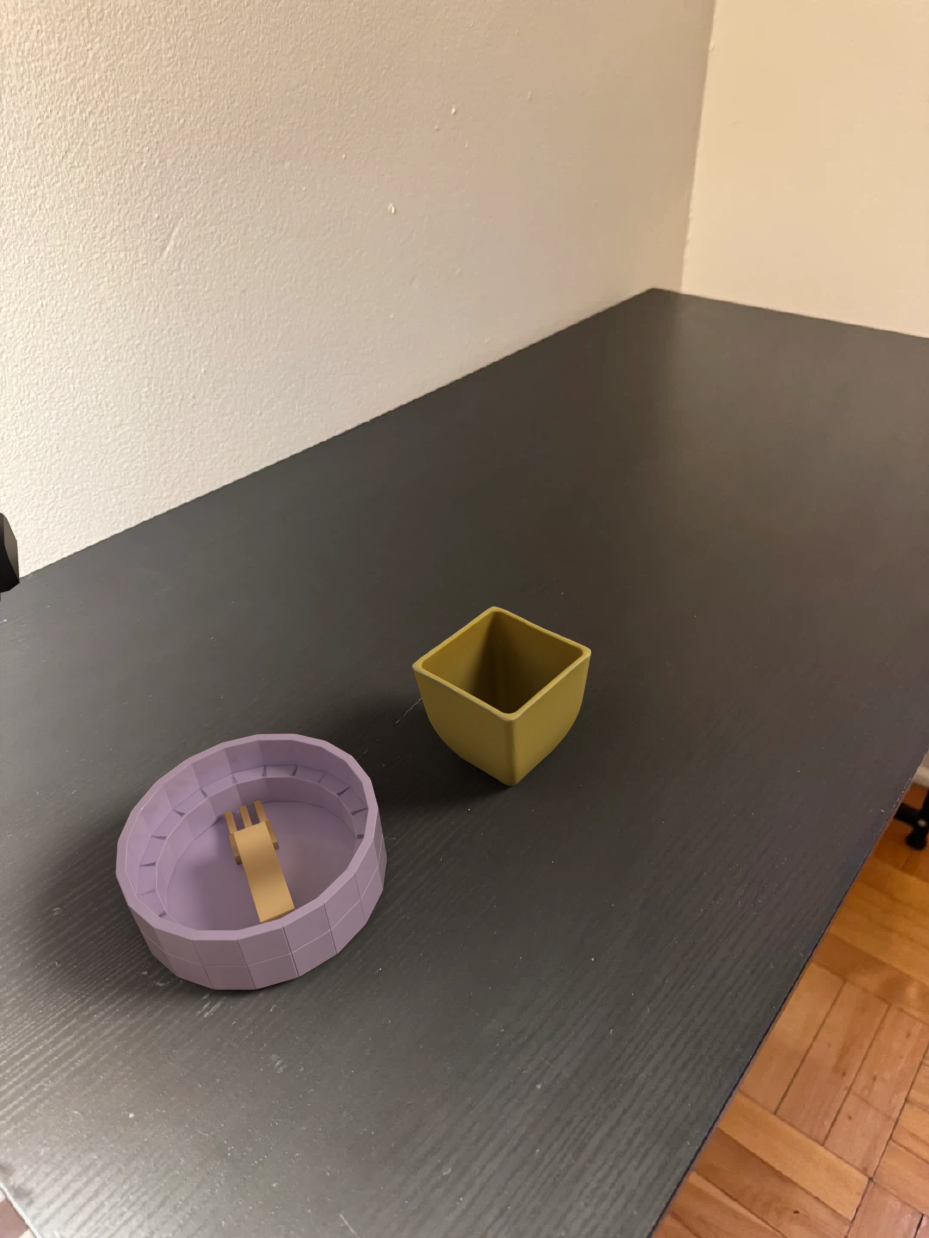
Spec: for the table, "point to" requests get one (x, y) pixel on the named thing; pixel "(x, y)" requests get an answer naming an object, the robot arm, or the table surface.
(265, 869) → the fork
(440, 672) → the flower pot
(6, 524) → the robot arm
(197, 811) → the bowl
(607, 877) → the table surface
